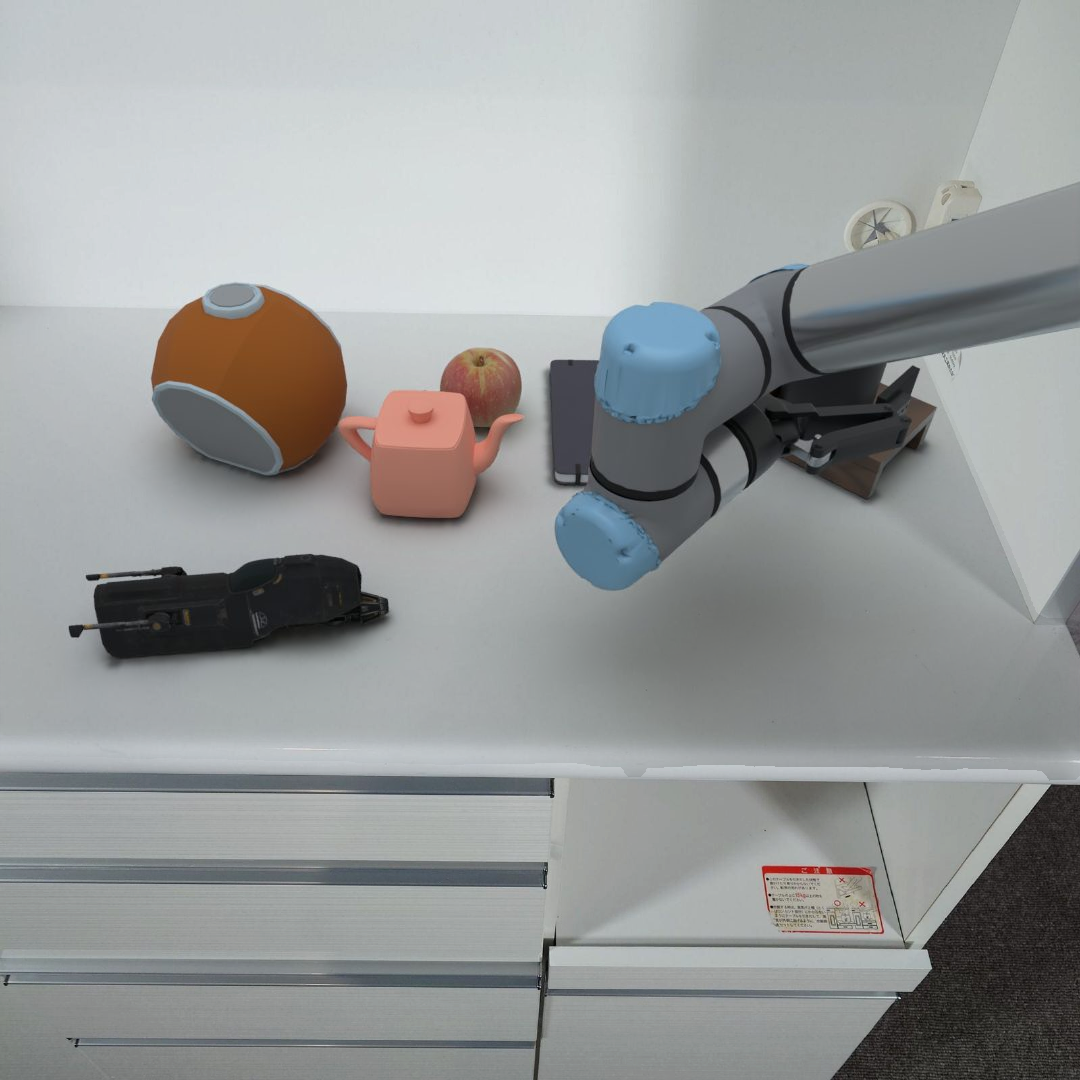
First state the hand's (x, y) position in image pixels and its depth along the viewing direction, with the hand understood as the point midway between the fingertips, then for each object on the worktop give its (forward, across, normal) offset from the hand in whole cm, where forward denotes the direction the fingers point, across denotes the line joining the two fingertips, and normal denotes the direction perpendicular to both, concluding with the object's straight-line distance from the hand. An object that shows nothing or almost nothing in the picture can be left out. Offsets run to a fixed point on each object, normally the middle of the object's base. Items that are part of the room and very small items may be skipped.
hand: (842, 350), depth 84 cm
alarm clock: (-33, -47, -16) cm, 60 cm away
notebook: (-5, -22, -17) cm, 28 cm away
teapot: (-26, -28, -17) cm, 42 cm away
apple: (-14, -33, -17) cm, 39 cm away
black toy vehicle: (-50, -26, -17) cm, 59 cm away
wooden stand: (+10, -2, -17) cm, 19 cm away
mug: (+8, -3, -12) cm, 15 cm away
